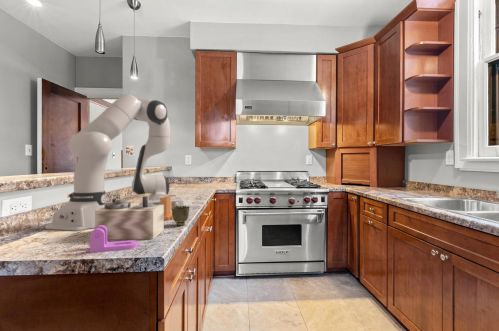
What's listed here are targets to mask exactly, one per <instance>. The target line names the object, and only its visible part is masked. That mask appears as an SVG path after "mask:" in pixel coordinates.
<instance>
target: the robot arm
mask: <svg viewBox="0 0 499 331" xmlns="http://www.w3.org/2000/svg"><path fill="white" fill-rule="evenodd" d="M134 120H136V121H139V122H146V123H147V126H148V138H147V140H146V142H145V144H143V145H142V146H141V148H140V150H139V155H138V158H137V163H136V168H135V172H134V176H133V178H132V181H131V189H132V191H133V193H135V194H137V195H145V194H149V196H148V205H160V197H172V208H173V206H175V207H176V206H179V207H180V206H181V207H182V206H185V199H183V198H182V197H179V196H178V195H177V194H176V195H174V194H169V193H170V181H169V179H168V178H167V176H165V175H163V174H156V175H154V174H153V175H147V174H146V175H145V169H146V164H147V160H148V159H150V158H151V157H153V156H156V155H159V154H163V153H164V152H165V151H166V150H168V148H169V147H170V145H171V123H170V119H169V117H168V109H167V106H166V105H165V103H164V102H162V101H160V100H157V99H154V100H153V99H148V98H147V99H145V98H142V99H139V98H137V97H136V96H134V95H133V94H129V93H126V94H123V95H121V96H120V97H119V98H117V99H115V101H113V102H112V103H111V104H110V105H109V106H107V108H105V110H103V112H101V113H100V115H98V116H97V117H96V118H95V119H93V121H91V122H89V124H87V125H86V126H85V127H83V128H82V129H81V130H80V131H78V132H77V133H76V134H75V135H74V136H72V138H70V140H69V142H68V145H67V146H68V150H69V152H70V153H71V154H72V155H73V156H74V157H77V163H76V166H75V170H74V173H73V192H71V193H69V194H68V195H67V198H69V201H68V202H66V203H65V204H64V205H63V206H61V207H59V208H58V209H57V210H56V211H54V213H53V216H52V221H51V222H50V223H48V224H46V225H45V230H56V231H57V230H58V231H59V230H60V231H82V230H87V229H95V210H98V209H101V208H104V207H105V203H106V201H107V200H106V191H105V174H106V166H107V163H108V158H109V157H108V156H109V154H110V153H111V150H112V148H113V143H112V140H114V139H115V138H117V137H118V136H119V135H120V134H121V133H122V132H123V131H124V130H125V129H126V128H128V126H129V125H130V124H131V123H132V121H134ZM139 205H143V200H142V201H141V202H139ZM172 208H171V209H172Z"/></svg>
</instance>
